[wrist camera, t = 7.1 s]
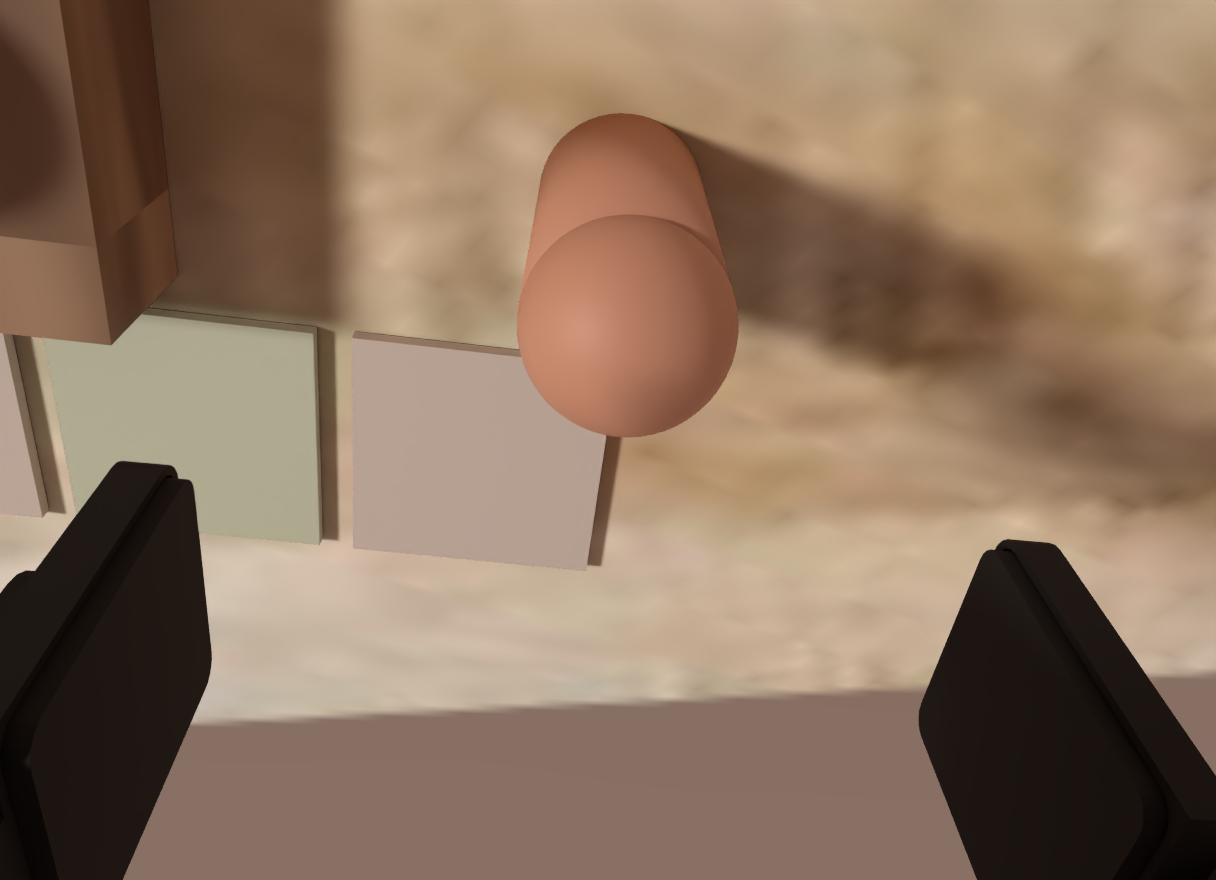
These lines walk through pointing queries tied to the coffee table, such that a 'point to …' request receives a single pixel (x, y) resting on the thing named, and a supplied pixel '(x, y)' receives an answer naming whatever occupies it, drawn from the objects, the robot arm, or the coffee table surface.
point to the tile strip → (317, 437)
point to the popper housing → (80, 170)
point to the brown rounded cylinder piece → (625, 282)
